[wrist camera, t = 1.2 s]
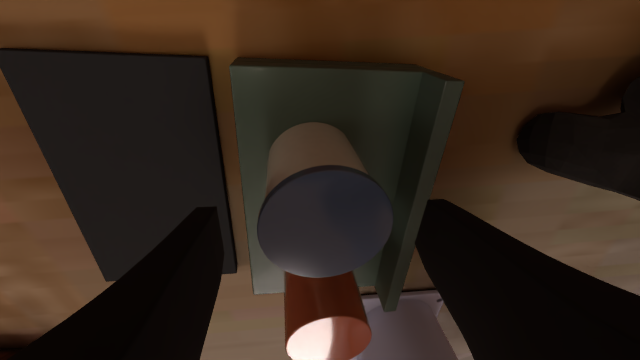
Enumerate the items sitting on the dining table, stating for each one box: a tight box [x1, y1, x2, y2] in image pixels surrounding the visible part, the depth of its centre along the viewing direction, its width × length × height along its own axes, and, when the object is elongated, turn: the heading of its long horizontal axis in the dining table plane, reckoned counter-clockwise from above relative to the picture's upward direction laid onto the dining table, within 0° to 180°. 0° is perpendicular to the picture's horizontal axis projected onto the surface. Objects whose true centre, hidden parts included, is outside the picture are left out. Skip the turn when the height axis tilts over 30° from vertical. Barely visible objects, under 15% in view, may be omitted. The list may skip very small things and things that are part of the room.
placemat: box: [0, 48, 237, 281], centre depth 16 cm, size 14×8×1 cm, turn 177°
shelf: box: [229, 57, 464, 312], centre depth 15 cm, size 14×9×4 cm, turn 177°
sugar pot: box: [257, 122, 393, 278], centre depth 12 cm, size 5×5×5 cm
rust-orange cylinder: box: [284, 270, 372, 360], centre depth 15 cm, size 4×4×5 cm
